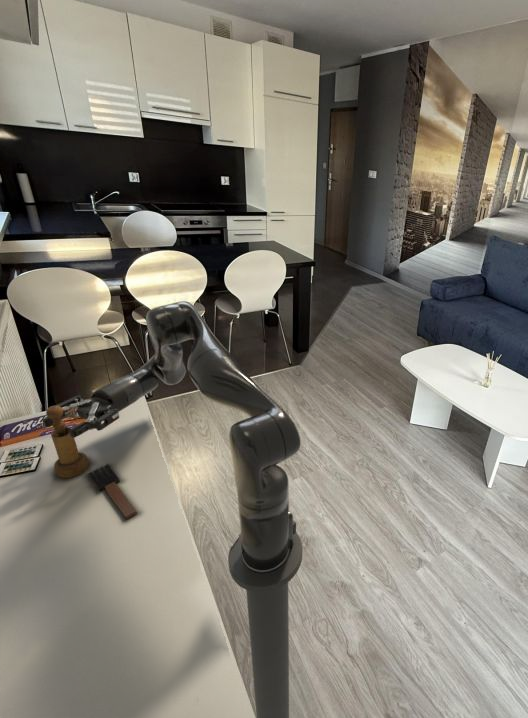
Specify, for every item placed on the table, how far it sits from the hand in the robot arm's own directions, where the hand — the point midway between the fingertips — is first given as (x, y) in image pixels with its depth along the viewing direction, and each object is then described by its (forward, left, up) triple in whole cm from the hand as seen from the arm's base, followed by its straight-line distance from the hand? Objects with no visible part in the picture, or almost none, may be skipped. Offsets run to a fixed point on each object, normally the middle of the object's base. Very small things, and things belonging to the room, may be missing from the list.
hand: (57, 429), depth 90 cm
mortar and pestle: (0, 0, -12) cm, 13 cm away
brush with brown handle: (-4, +15, -12) cm, 20 cm away
